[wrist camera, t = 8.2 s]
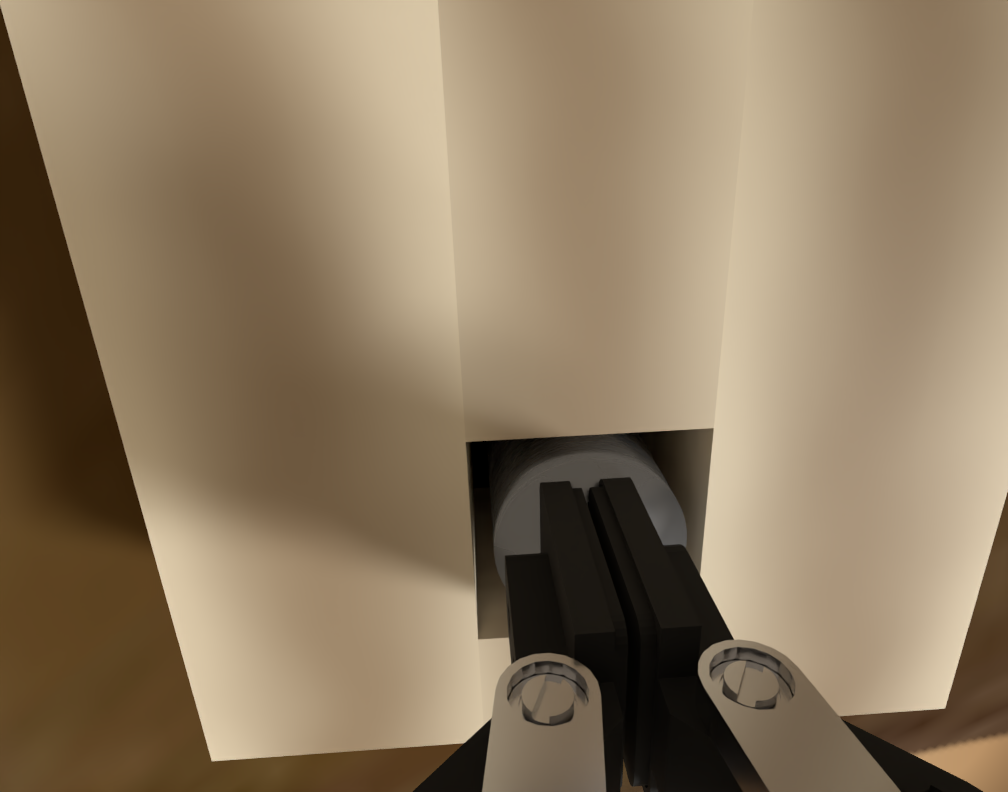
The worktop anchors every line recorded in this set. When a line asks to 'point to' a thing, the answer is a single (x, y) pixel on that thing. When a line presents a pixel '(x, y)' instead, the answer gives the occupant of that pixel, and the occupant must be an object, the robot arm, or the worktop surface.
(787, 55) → the maple block
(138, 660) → the worktop surface
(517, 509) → the peg
